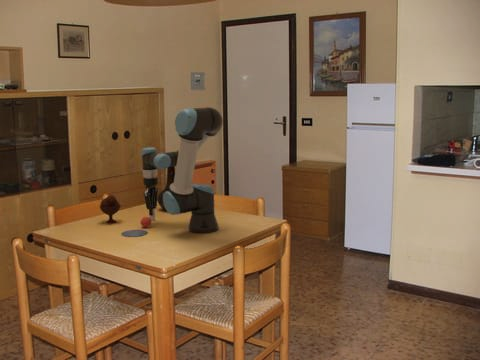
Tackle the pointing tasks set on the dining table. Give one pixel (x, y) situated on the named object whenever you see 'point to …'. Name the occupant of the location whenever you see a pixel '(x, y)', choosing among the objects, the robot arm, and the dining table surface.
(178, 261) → the dining table surface
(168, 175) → the dark brown vase
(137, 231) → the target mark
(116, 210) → the ice cream bowl
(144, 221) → the ball
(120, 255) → the dining table surface
